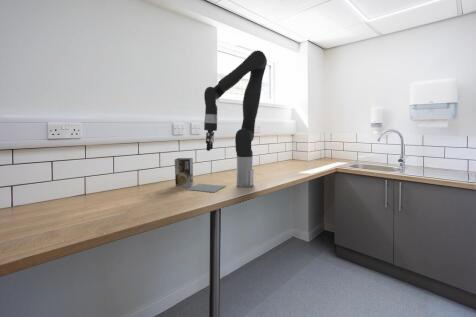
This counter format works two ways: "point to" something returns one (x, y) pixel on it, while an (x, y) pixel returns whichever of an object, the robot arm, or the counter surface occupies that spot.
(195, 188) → the mat
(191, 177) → the coffee box
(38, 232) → the counter surface
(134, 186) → the counter surface
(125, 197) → the counter surface
